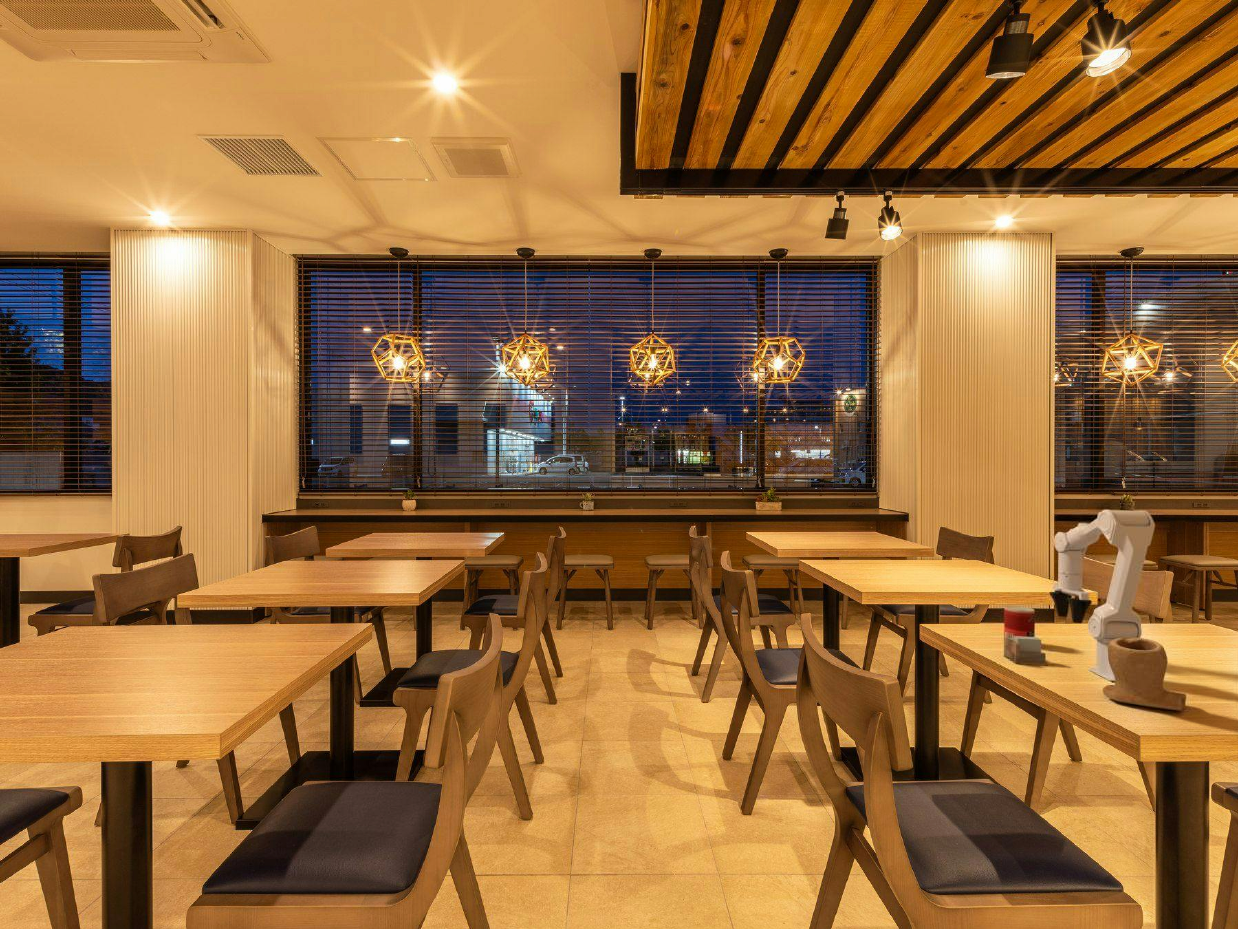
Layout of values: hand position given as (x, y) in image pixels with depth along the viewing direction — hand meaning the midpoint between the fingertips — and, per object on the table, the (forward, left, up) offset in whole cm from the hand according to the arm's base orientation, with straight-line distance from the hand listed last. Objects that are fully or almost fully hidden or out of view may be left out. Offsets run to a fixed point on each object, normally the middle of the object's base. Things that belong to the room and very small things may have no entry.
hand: (1069, 619), depth 180 cm
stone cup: (-41, +6, -10) cm, 43 cm away
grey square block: (-10, +16, -9) cm, 22 cm away
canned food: (+8, +10, -10) cm, 16 cm away
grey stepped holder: (-10, +17, -10) cm, 22 cm away
